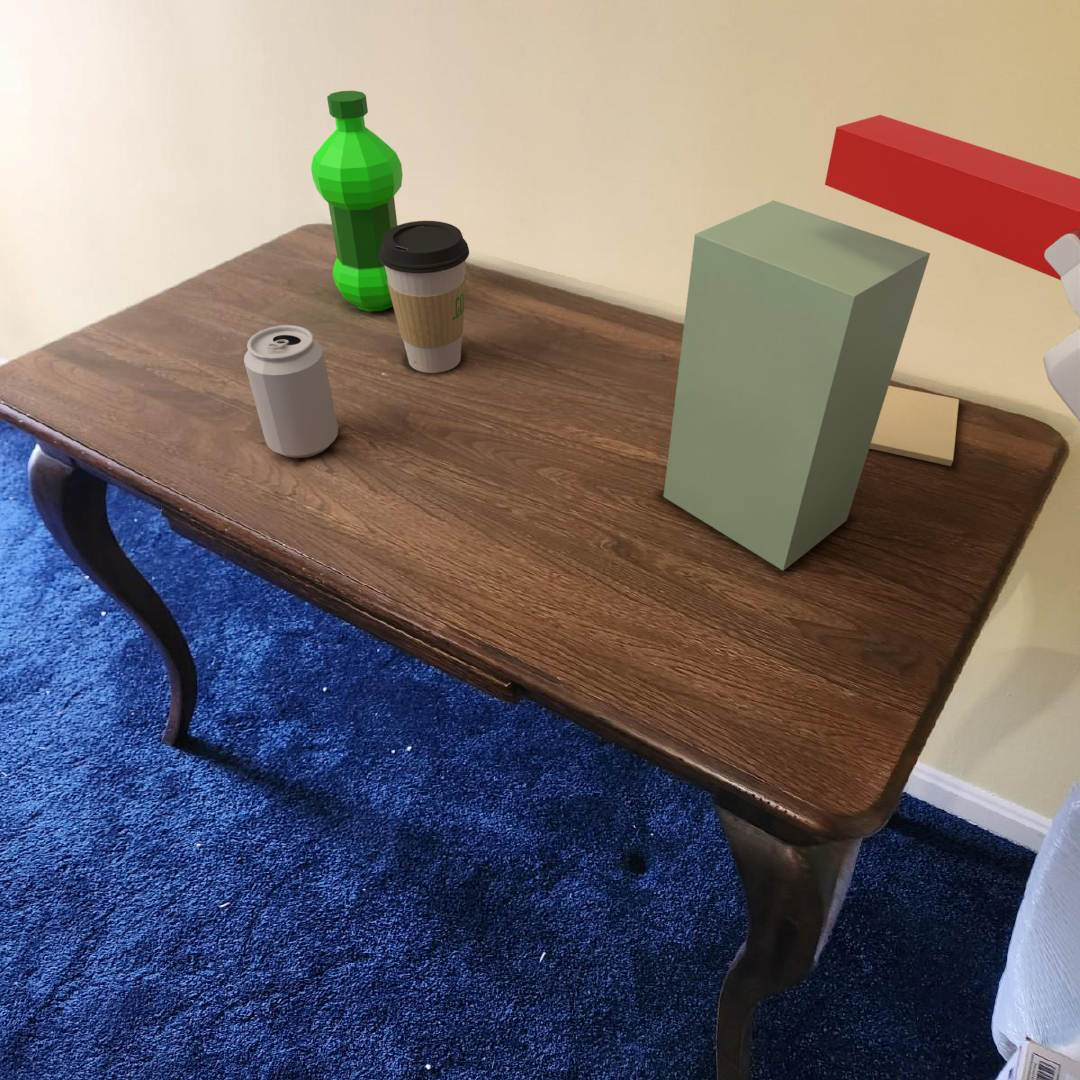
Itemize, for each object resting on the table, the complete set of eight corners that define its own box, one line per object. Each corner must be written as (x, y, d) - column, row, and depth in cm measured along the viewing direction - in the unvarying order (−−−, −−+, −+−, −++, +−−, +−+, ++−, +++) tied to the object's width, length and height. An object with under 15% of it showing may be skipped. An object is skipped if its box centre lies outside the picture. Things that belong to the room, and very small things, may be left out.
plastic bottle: (399, 278, 118) (375, 78, 101) (425, 311, 111) (404, 102, 94) (327, 293, 115) (290, 89, 98) (350, 327, 108) (314, 114, 91)
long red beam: (1193, 294, 49) (1229, 226, 47) (1149, 316, 48) (1184, 247, 45) (866, 171, 64) (880, 114, 62) (824, 184, 63) (836, 126, 60)
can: (352, 428, 92) (333, 326, 84) (317, 468, 87) (293, 364, 79) (291, 415, 94) (267, 314, 86) (252, 454, 88) (223, 351, 80)
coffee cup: (492, 352, 103) (486, 230, 93) (442, 390, 97) (430, 263, 87) (427, 331, 107) (415, 211, 97) (376, 366, 101) (357, 242, 91)
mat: (956, 405, 95) (959, 399, 94) (950, 466, 86) (953, 460, 86) (775, 369, 100) (776, 363, 100) (753, 423, 92) (754, 417, 92)
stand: (846, 520, 80) (930, 253, 63) (783, 571, 75) (855, 296, 58) (728, 454, 88) (773, 200, 71) (663, 496, 83) (694, 234, 66)
